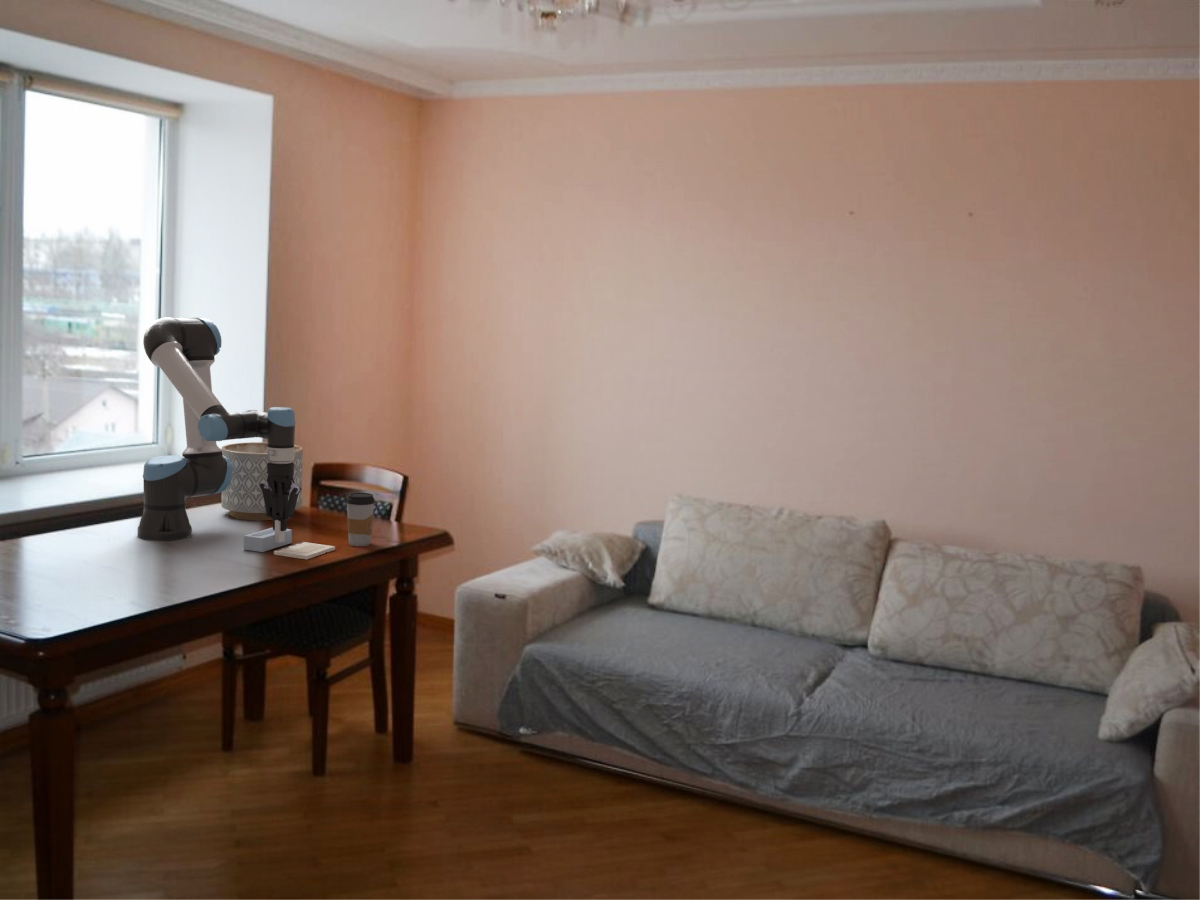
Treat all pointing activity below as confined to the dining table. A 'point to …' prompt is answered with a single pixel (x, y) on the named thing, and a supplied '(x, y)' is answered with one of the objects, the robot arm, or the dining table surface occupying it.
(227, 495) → the planter
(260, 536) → the grey slotted block
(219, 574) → the dining table surface
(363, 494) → the coffee cup
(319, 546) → the cream rectangular plate
